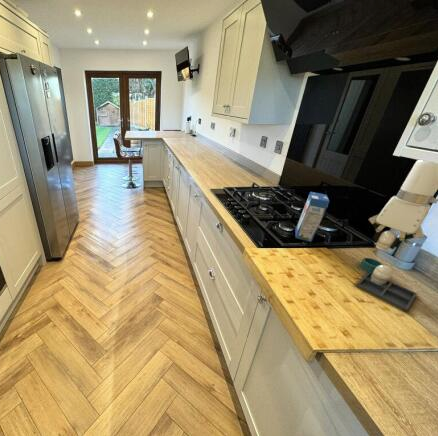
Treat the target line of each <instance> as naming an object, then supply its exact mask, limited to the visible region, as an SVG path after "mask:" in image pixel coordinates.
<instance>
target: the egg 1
mask: <svg viewBox="0 0 438 436" xmlns="http://www.w3.org/2000/svg"><path fill="white" fill-rule="evenodd" d="M397 238H398V234H397V233H396V232H395V231H393V230H383V232H382V233H381V235H380V236H379V238H378V240H377V242H376V245H375V248H377V249H379V250H380V251H384V252H387V251H388V250H390V249H391V246H392V245H393V243H394V242H395V240H396V239H397Z"/></svg>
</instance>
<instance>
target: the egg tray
mask: <svg viewBox="0 0 438 436" xmlns="http://www.w3.org/2000/svg"><path fill="white" fill-rule="evenodd" d="M371 275H372V273H371V272H367V273H366V274H365V275H364V276H363V277H362V278H361V279H360V280H358V282H357V283H356V284H355V287H356V288H357V289H360V290H361V291H364V292H365V293H368V294H369V295H372V296H374V297H376V298H377V299H379V300H381V301H383V302H385V303H387V304H390V305H391V306H394V307H396V308H397V309H399V310H401V311H403V312H405V313H407V311H408V310H409V308H410V307H411V305H412V304H413V302H414V300H415V298H416V296H417V295H418V293H417V292H415V291H412V290H410V289H408V288H406V287H404V286H401V285H399V284H398V283H395V282H392V281H390V280H388V281H387V282H386V283H384V284H383V285H379V284H377V283H375V282H372V281H371Z"/></svg>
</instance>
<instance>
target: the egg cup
mask: <svg viewBox="0 0 438 436" xmlns="http://www.w3.org/2000/svg"><path fill="white" fill-rule="evenodd" d="M379 265H384V264H383V263H382V262H381V261H379V260H377V259H374V258H372V257H363V258H362V260H361V261H360V262H359V267H360V268H361V269H362V270H363V271H365V272H367V273H368V272H371V273H373V271H374V270H375V268H376V267H377V266H379Z"/></svg>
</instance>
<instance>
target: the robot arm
mask: <svg viewBox="0 0 438 436" xmlns="http://www.w3.org/2000/svg"><path fill="white" fill-rule="evenodd" d="M437 191H438V163H434V162H428V161H423V160H418V159H417V160H416V161H415V163H414V164H413V166H412V168H411V169H410V171H409V172H408V174H407V176H406V177H405V180H404V181H403V183H402V185H401V186H400V189H399V190H398V192H397V193H396V195H393V196H392V197H390V199H389V200H388V202H387V203H386V204H385V205H384V207H383V208H382V209H381V211H380V212H379V213H378V214H376V215H373V216H371V217H369V218H368V221H369V222H370V223H371V225H372V226H373V228H374V229H375V233H374V235H373V237H372V240H373V241H372V243H376V242H377V240H378V238H379V236H380V235H381V233H382V232H384V230H383V229H385V228H386V227H387V228H389V229H393V230H396V231H399V232H400V234H399V236H397V239H396V240H395V242H394V243H393V245H392V246H391V248H390V250H394V249H395V248H397V249H398V248H399V247H400V245H401V244H402V242H403V241H406V240H411V239H422V238H423V237H424V236H425V234H424V231H423V228H422V224H423V223H424V221H425V220H426V217H427V216H428V215H429V212H430V209H431V204H437V202H438V198H435V197H434V195H436V192H437Z"/></svg>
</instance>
